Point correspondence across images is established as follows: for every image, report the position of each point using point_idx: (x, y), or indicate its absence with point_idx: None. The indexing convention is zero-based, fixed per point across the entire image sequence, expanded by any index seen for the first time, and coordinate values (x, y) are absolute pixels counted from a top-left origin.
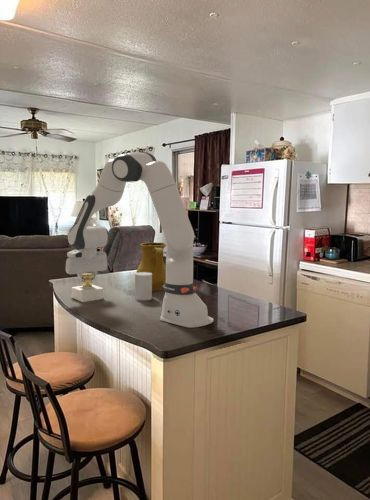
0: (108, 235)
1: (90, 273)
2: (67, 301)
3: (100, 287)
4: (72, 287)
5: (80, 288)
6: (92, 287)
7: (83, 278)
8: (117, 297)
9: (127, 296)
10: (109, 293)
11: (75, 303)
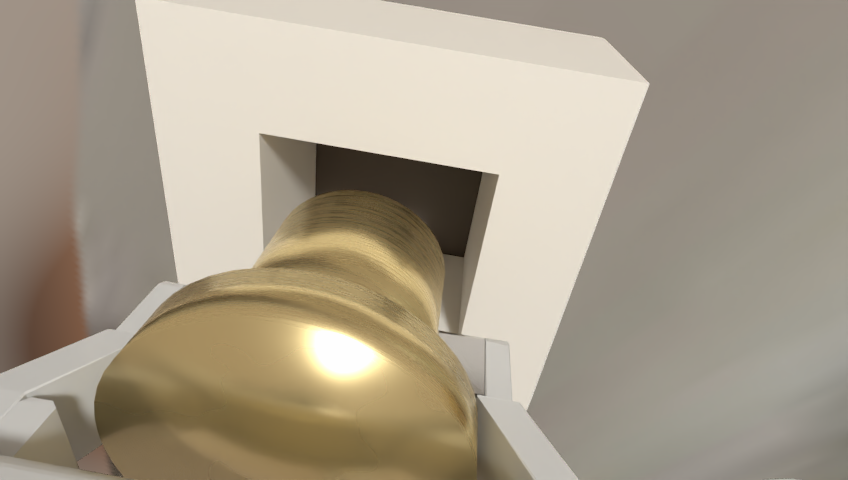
0: None
1: (456, 435)
2: (114, 129)
3: (532, 368)
4: (146, 39)
5: (245, 215)
6: (480, 248)
7: None
8: (657, 378)
9: (759, 417)
10: (801, 188)
11: (170, 258)
